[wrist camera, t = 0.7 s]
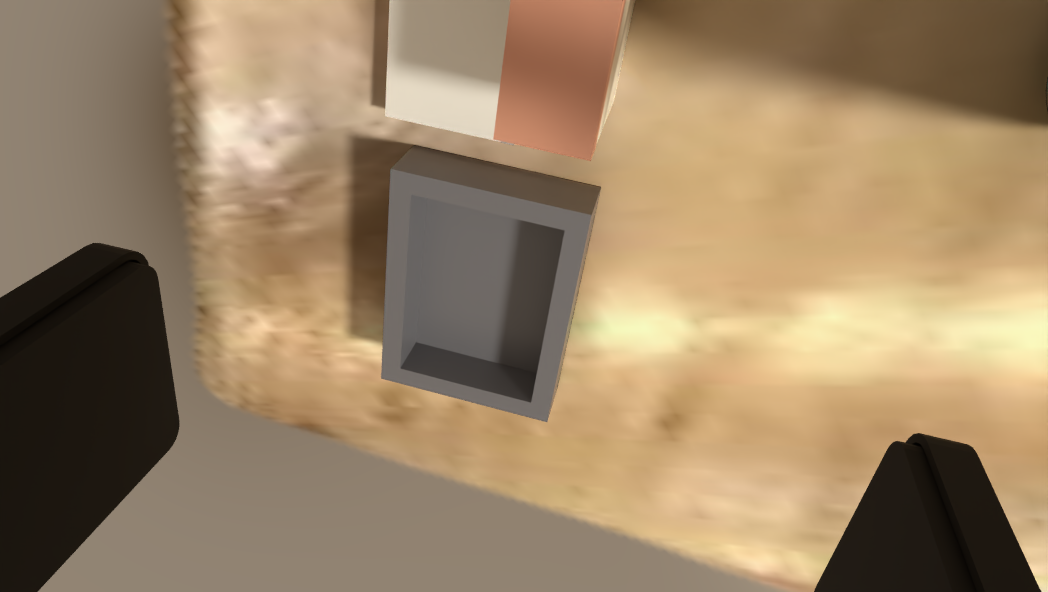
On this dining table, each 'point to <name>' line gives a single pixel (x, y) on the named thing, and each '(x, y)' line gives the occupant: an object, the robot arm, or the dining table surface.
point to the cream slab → (446, 63)
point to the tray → (482, 278)
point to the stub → (561, 73)
